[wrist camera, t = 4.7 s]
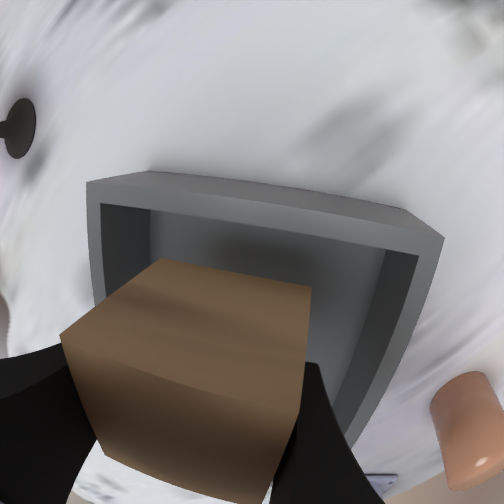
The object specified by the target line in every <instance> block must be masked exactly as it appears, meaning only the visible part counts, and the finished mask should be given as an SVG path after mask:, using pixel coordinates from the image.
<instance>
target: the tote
mask: <svg viewBox="0 0 504 504" xmlns="http://www.w3.org/2000/svg"><path fill="white" fill-rule="evenodd" d="M86 204H87V231H88V247H89V259H90V270H91V279H92V287H93V295H94V302H95V306H97V305H98V304H99V303H101V302H102V301H103V300H105V299H106V298H107V297H108V296H110V295H111V294H112V293H114V292H115V291H116V290H118V289H119V288H120V287H122V286H123V285H124V284H126V283H127V282H129V281H130V280H131V279H133V278H134V277H135V276H137V275H138V274H139V273H141V272H142V271H144V270H145V269H146V268H148V267H149V266H150V265H152V264H153V263H155V262H156V261H157V260H159V259H160V258H166V259H171V260H176V261H181V262H186V263H191V264H195V265H200V266H205V267H210V268H215V269H220V270H225V271H230V272H236V273H241V274H246V275H251V276H256V277H262V278H267V279H272V280H277V281H283V282H288V283H294V284H299V285H305V286H310V287H312V290H311V304H310V317H309V328H308V339H307V349H306V359H305V361H306V362H312V363H317V364H318V365H319V367H320V371H321V375H322V379H323V382H324V386H325V389H326V392H327V395H328V398H329V401H330V404H331V406H332V409H333V411H334V414H335V416H336V419H337V421H338V424H339V426H340V428H341V431H342V433H343V435H344V437H345V439H346V441H347V443H348V445H349V447H350V449H351V448H352V447H353V445H354V444H355V442H356V441H357V439H358V438H359V436H360V434H361V433H362V431H363V430H364V428H365V426H366V425H367V423H368V421H369V420H370V418H371V416H372V414H373V413H374V411H375V409H376V407H377V406H378V404H379V402H380V400H381V398H382V396H383V395H384V393H385V391H386V389H387V387H388V385H389V383H390V381H391V379H392V377H393V375H394V373H395V371H396V369H397V367H398V365H399V363H400V361H401V358H402V356H403V354H404V352H405V350H406V347H407V345H408V343H409V340H410V338H411V336H412V333H413V331H414V329H415V326H416V324H417V321H418V319H419V316H420V313H421V311H422V308H423V305H424V303H425V300H426V297H427V294H428V291H429V288H430V286H431V283H432V279H433V276H434V273H435V270H436V267H437V264H438V260H439V257H440V253H441V250H442V246H443V242H444V239H445V237H443V236H442V235H441V234H439V233H438V232H437V231H435V230H434V229H433V228H431V227H430V226H428V225H427V224H426V223H424V222H423V221H421V220H420V219H418V218H417V217H416V216H414V215H413V214H411V213H410V212H408V211H407V210H404V209H400V208H395V207H391V206H386V205H382V204H377V203H372V202H367V201H363V200H358V199H352V198H347V197H342V196H337V195H331V194H326V193H320V192H314V191H308V190H302V189H296V188H290V187H284V186H277V185H270V184H263V183H256V182H249V181H241V180H233V179H225V178H217V177H208V176H198V175H188V174H178V173H167V172H154V171H144V172H137V173H131V174H126V175H120V176H115V177H109V178H104V179H99V180H94V181H89V182H86ZM272 484H273V480H272V482H271V484H270V486H272Z"/></svg>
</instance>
